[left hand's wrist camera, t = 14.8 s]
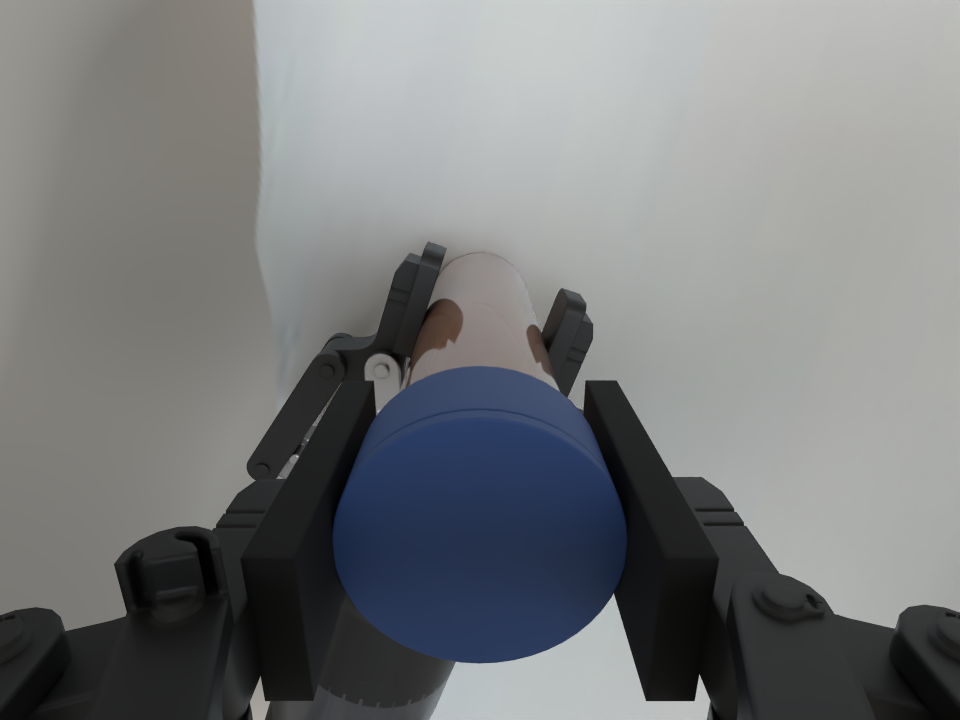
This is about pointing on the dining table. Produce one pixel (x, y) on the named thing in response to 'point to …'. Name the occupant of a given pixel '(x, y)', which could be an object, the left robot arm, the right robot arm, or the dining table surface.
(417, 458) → the lid
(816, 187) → the dining table surface
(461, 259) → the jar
